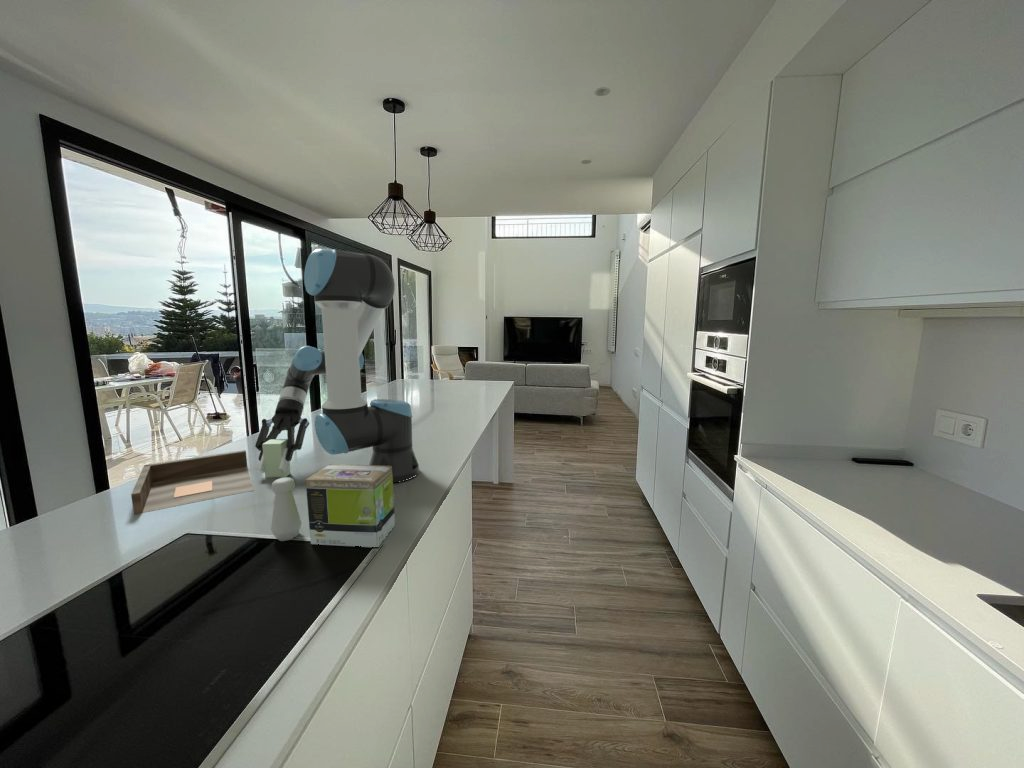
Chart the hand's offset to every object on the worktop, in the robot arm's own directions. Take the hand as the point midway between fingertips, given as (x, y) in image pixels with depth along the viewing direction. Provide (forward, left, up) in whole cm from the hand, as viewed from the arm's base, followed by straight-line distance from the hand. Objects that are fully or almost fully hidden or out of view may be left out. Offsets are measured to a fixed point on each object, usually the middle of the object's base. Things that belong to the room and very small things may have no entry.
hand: (271, 470), depth 118 cm
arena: (+5, +17, -3) cm, 18 cm away
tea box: (-45, -11, -4) cm, 46 cm away
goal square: (+3, +18, -2) cm, 19 cm away
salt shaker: (-37, +1, -4) cm, 37 cm away
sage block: (+3, -2, -3) cm, 5 cm away
